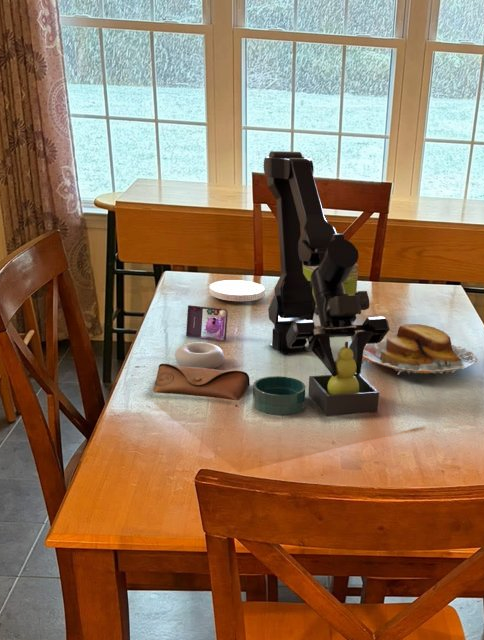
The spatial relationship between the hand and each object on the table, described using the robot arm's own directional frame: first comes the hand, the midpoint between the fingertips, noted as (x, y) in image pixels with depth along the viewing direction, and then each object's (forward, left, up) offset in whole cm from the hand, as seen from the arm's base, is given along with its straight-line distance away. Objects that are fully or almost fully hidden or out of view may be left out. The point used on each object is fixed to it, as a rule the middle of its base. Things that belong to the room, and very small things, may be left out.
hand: (347, 375), depth 151 cm
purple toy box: (+3, -48, -7) cm, 49 cm away
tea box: (-27, -47, -7) cm, 55 cm away
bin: (0, -1, -7) cm, 7 cm away
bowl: (+11, -6, -7) cm, 14 cm away
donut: (+13, -33, -7) cm, 36 cm away
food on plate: (-29, -13, -7) cm, 33 cm away
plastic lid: (-18, -72, -7) cm, 75 cm away
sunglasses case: (+20, -20, -7) cm, 29 cm away
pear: (0, -1, -6) cm, 6 cm away
